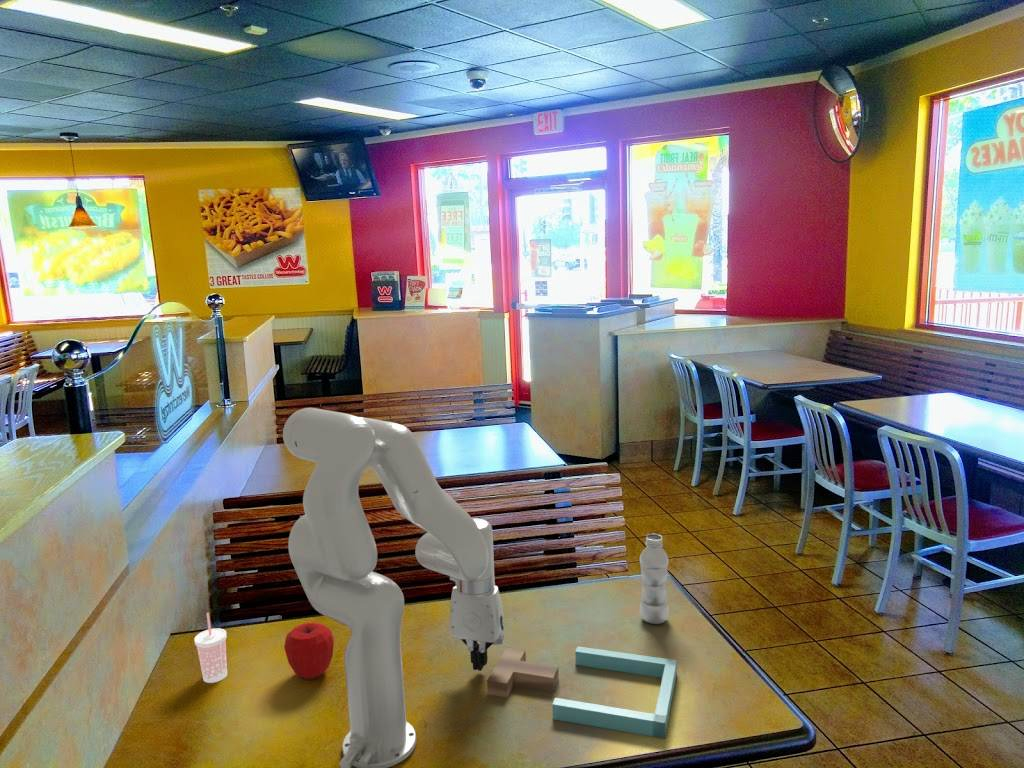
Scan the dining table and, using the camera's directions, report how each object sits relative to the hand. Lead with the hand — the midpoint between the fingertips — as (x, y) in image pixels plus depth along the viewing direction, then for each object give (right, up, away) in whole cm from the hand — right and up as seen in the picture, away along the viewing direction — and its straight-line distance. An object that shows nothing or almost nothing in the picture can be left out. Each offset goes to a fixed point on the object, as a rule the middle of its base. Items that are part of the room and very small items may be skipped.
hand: (479, 666), depth 148 cm
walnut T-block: (+9, -2, -3) cm, 10 cm away
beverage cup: (-54, -3, +3) cm, 54 cm away
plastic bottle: (+39, +3, +19) cm, 43 cm away
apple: (-34, -3, +2) cm, 34 cm away
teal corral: (+26, -2, -8) cm, 27 cm away
